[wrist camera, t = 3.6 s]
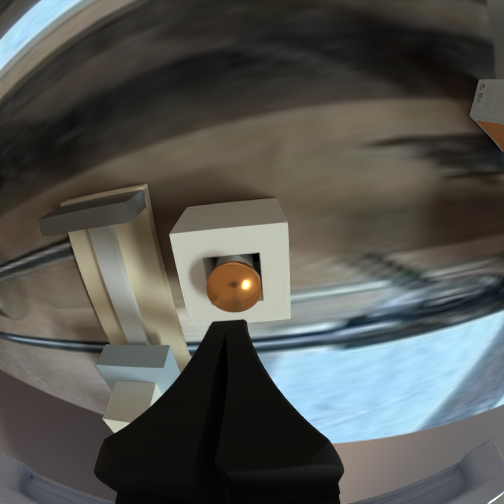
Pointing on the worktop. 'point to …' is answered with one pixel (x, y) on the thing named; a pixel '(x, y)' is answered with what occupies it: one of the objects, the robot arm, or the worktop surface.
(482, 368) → the worktop surface
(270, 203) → the white button housing
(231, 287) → the button
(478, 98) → the skincare box
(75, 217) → the rail
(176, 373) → the carriage
